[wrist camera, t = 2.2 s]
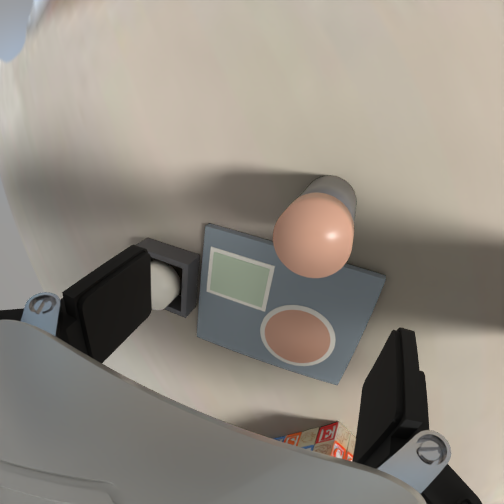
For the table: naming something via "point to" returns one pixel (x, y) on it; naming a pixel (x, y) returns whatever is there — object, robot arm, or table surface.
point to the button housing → (189, 274)
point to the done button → (163, 284)
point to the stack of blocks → (325, 440)
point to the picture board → (281, 306)
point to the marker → (317, 228)
